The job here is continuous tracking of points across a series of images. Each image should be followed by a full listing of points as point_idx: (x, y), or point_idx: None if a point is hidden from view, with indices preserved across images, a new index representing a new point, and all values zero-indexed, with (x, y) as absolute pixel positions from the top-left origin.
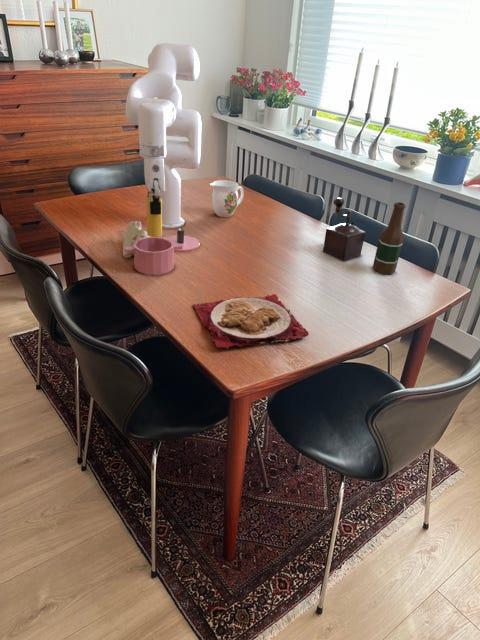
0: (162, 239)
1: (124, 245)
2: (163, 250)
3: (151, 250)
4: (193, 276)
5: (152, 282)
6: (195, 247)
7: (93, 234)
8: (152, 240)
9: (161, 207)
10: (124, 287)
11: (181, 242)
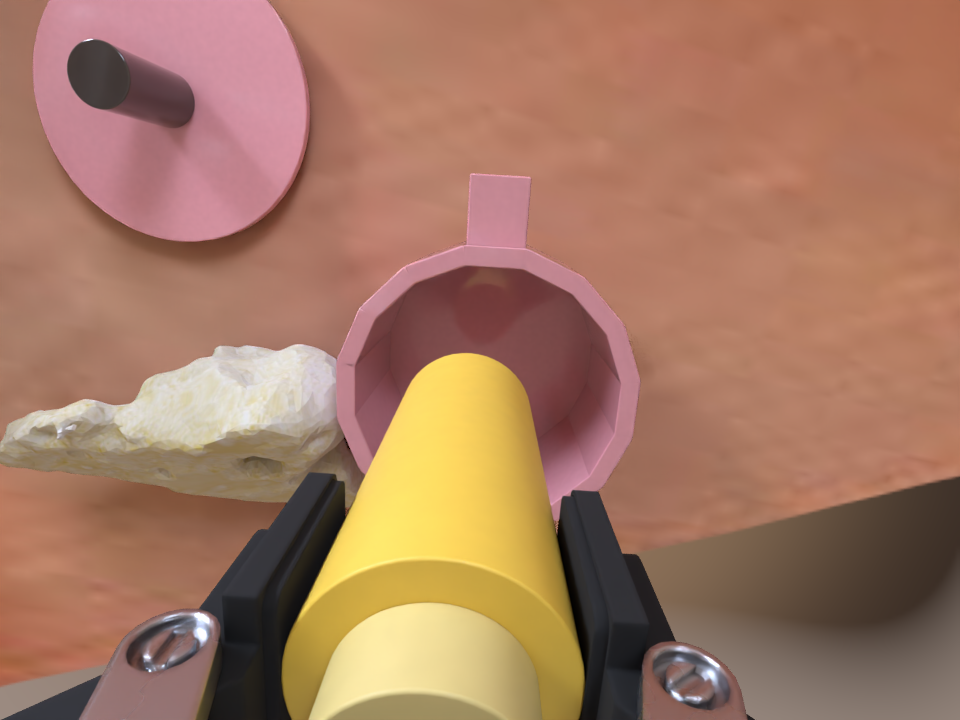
0: (386, 309)
1: (272, 499)
2: (613, 356)
3: (378, 363)
4: (671, 150)
5: (671, 402)
6: (271, 6)
7: (11, 580)
8: (361, 376)
9: (504, 491)
10: (680, 538)
11: (190, 98)
